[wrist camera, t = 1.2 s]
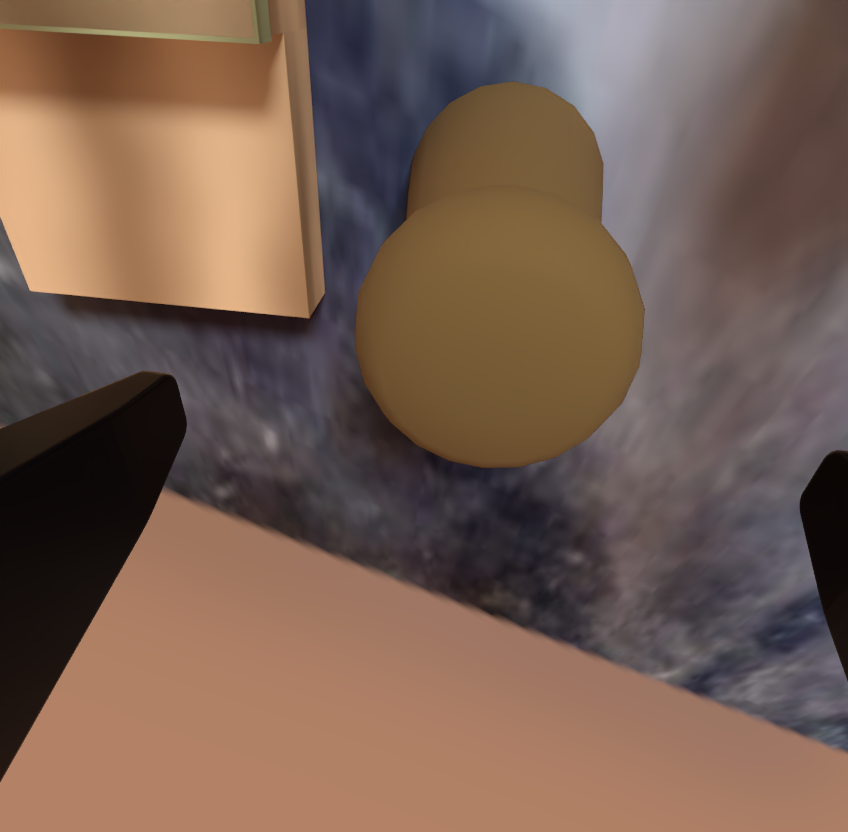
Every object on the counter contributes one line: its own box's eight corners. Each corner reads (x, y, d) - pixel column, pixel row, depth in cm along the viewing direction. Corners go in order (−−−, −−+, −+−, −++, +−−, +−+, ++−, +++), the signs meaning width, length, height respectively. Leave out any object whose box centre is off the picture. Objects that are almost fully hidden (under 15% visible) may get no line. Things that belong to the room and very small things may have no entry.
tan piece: (595, -478, 11) (628, -675, 8) (495, 308, 20) (491, 368, 17) (-199, -467, 12) (-458, -631, 9) (63, 268, 22) (-15, 316, 19)
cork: (512, 315, 20) (508, 560, 12) (372, 208, 19) (248, 400, 10) (647, 174, 17) (781, 369, 8) (492, 30, 16) (461, 86, 7)
